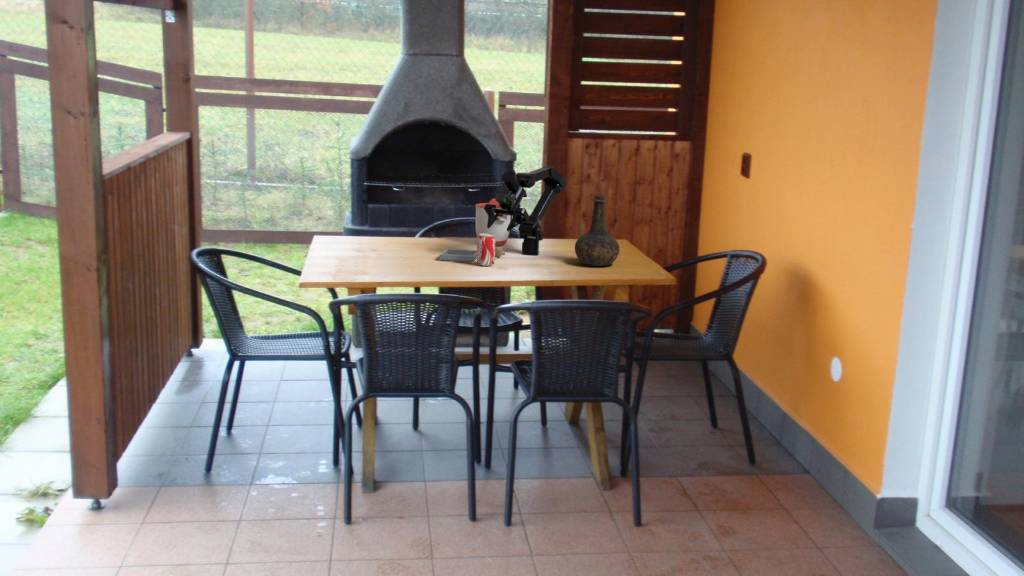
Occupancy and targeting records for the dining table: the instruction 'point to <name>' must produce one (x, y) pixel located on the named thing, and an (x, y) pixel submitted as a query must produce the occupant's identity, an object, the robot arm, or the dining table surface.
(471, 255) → the slate tray
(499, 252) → the brown block with knob
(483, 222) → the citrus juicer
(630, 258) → the dining table surface
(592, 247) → the glass bottle
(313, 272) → the dining table surface
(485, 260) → the soda can
